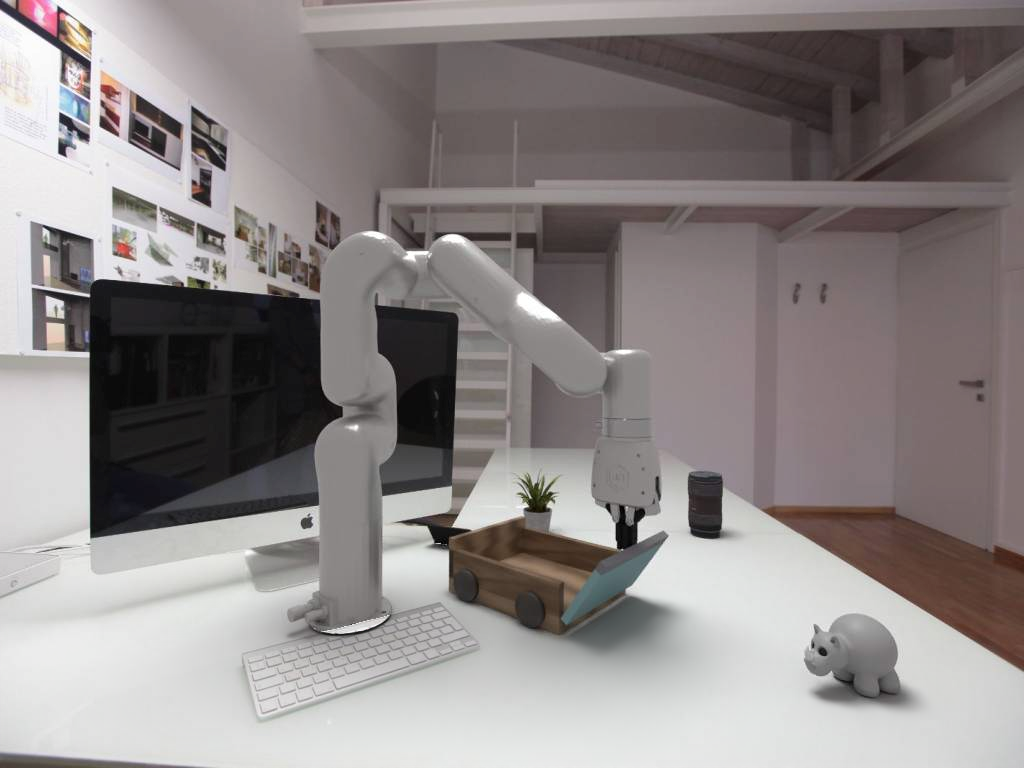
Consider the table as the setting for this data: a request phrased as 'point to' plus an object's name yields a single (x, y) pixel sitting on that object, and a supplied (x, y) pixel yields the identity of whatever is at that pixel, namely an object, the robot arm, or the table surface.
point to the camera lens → (705, 503)
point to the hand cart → (524, 571)
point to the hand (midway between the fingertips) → (626, 547)
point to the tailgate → (614, 576)
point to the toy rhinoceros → (856, 654)
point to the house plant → (537, 503)
